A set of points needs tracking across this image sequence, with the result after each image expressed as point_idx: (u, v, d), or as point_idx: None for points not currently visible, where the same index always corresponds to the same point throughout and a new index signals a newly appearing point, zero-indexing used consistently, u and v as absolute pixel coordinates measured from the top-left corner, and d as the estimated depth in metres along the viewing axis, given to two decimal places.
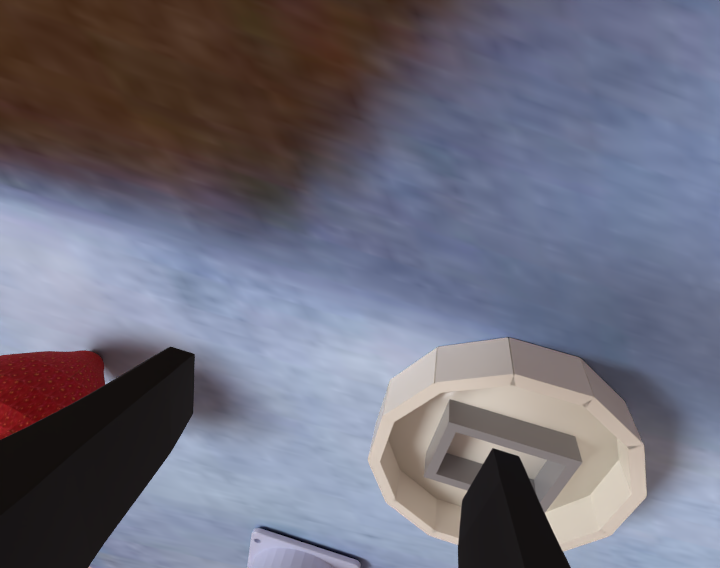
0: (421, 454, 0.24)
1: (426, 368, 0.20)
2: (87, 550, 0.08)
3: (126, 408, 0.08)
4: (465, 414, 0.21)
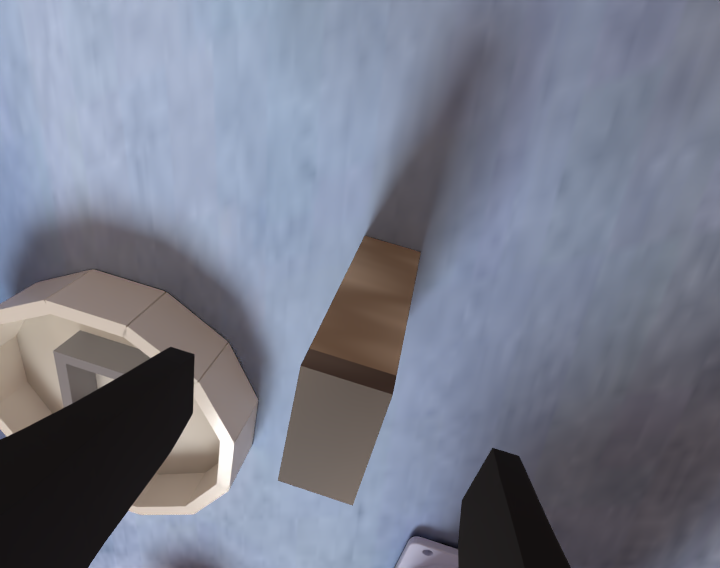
0: (173, 452, 0.22)
1: None
2: (88, 550, 0.08)
3: (126, 408, 0.08)
4: None
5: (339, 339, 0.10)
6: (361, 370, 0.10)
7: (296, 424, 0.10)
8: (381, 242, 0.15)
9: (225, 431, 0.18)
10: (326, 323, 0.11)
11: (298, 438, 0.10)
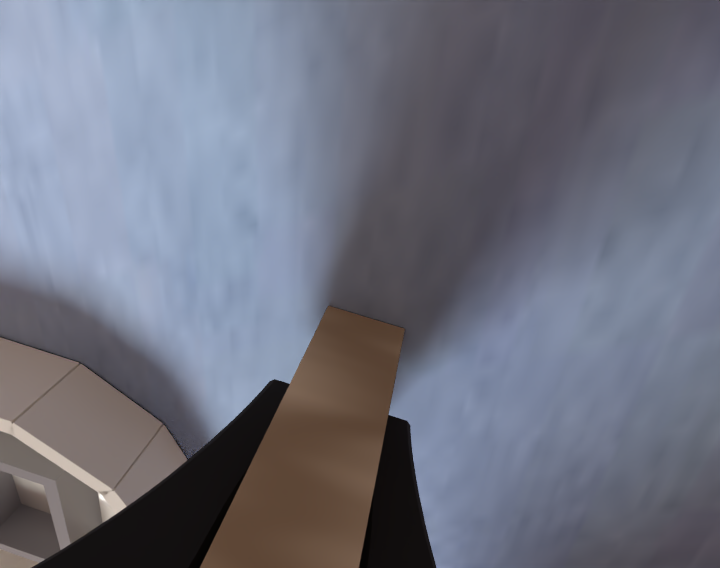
0: None
1: None
2: None
3: None
4: None
5: (258, 534, 0.06)
6: None
7: None
8: (350, 315, 0.11)
9: None
10: (242, 497, 0.07)
11: None
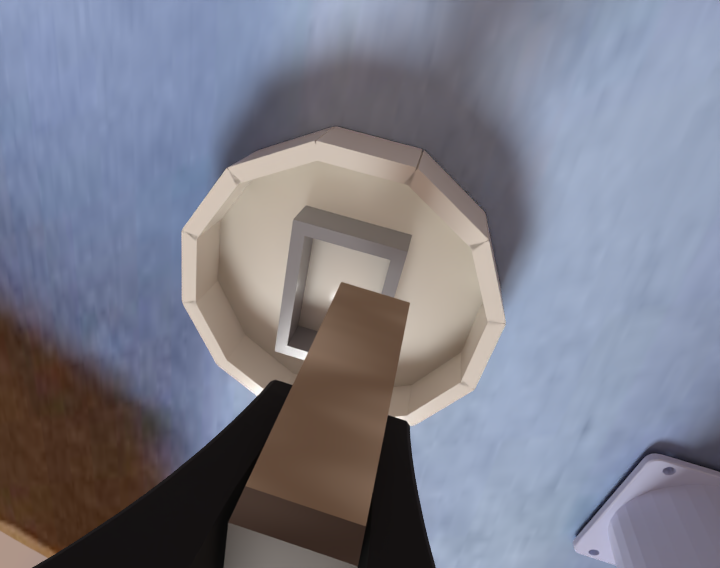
0: None
1: None
2: None
3: (258, 451, 0.08)
4: None
5: (290, 463, 0.08)
6: (316, 522, 0.07)
7: None
8: (361, 290, 0.12)
9: (499, 308, 0.15)
10: (275, 435, 0.08)
11: None
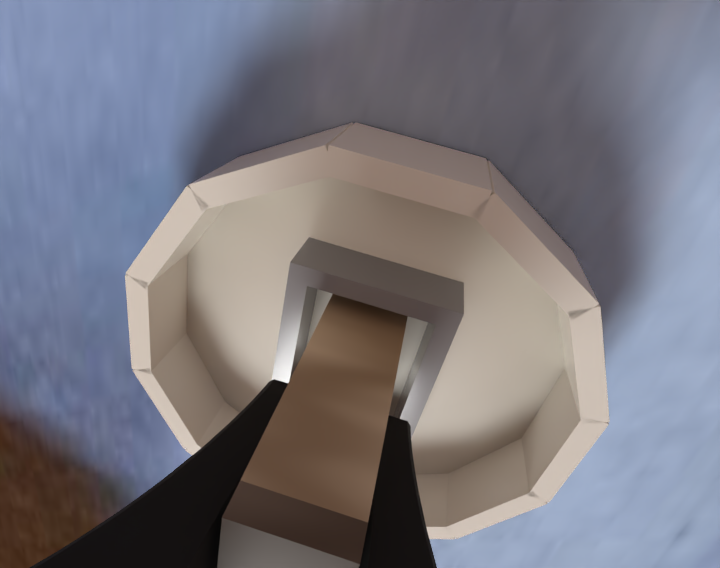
0: None
1: None
2: None
3: None
4: None
5: (288, 457, 0.07)
6: (315, 517, 0.06)
7: None
8: None
9: (603, 402, 0.10)
10: (272, 429, 0.08)
11: None
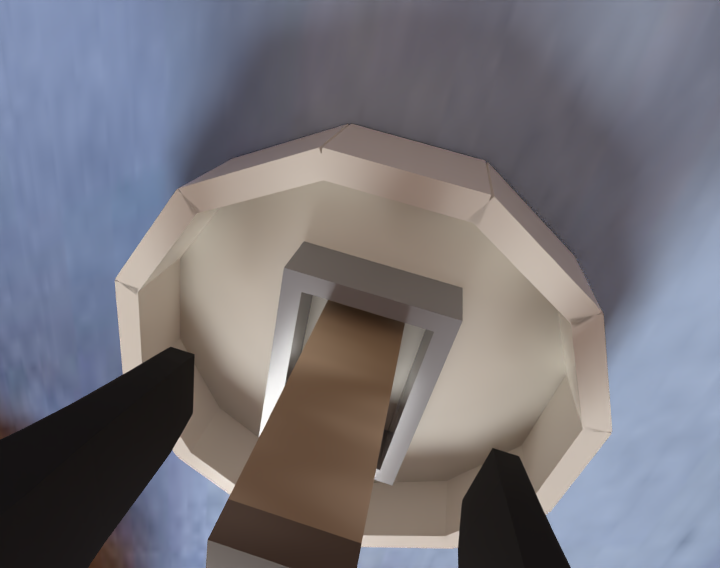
0: None
1: None
2: (87, 550, 0.08)
3: (126, 408, 0.08)
4: None
5: (279, 473, 0.07)
6: (306, 538, 0.06)
7: None
8: None
9: (605, 411, 0.10)
10: (263, 443, 0.07)
11: None
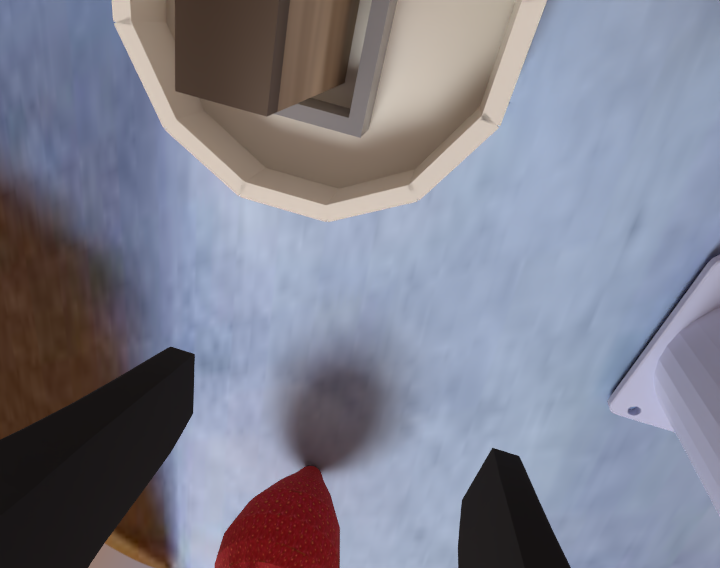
0: (372, 135, 0.16)
1: None
2: (88, 550, 0.08)
3: (126, 408, 0.08)
4: None
5: None
6: None
7: None
8: None
9: None
10: None
11: None
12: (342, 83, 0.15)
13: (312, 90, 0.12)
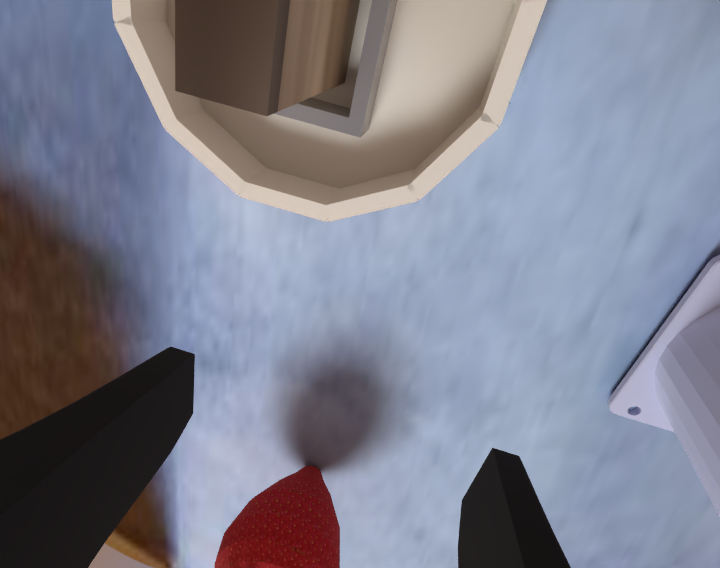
0: (372, 135, 0.16)
1: None
2: (88, 550, 0.08)
3: (126, 408, 0.08)
4: None
5: None
6: None
7: None
8: None
9: None
10: None
11: None
12: (342, 83, 0.15)
13: (312, 90, 0.12)
